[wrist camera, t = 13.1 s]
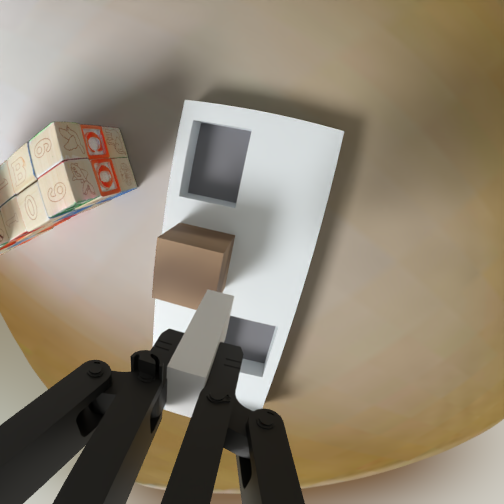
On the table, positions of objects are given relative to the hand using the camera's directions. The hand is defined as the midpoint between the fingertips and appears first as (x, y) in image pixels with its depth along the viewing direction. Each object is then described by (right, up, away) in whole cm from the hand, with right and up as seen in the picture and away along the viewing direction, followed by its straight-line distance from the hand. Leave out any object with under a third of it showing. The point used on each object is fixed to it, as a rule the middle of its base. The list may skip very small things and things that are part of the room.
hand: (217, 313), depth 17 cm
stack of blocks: (-19, +9, +10) cm, 24 cm away
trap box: (0, +1, +10) cm, 11 cm away
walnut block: (-2, +3, +7) cm, 8 cm away
